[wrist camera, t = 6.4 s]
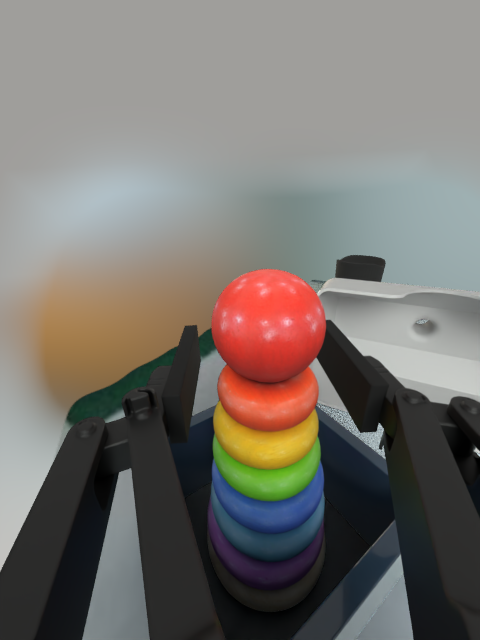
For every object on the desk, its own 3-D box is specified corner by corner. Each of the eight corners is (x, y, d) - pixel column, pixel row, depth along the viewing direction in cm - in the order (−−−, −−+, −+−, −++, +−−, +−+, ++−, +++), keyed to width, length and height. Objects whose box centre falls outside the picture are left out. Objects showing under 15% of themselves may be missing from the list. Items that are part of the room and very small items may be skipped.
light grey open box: (523, 378, 33) (574, 284, 27) (612, 494, 20) (741, 358, 15) (323, 338, 43) (333, 265, 38) (297, 396, 30) (306, 298, 25)
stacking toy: (343, 530, 18) (411, 268, 10) (277, 666, 13) (313, 344, 5) (257, 461, 23) (259, 250, 15) (185, 539, 18) (130, 278, 10)
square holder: (149, 507, 20) (130, 444, 17) (275, 431, 26) (278, 376, 23) (236, 804, 10) (228, 776, 7) (407, 568, 16) (441, 501, 13)
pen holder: (385, 310, 54) (396, 263, 49) (342, 312, 53) (349, 265, 49) (362, 295, 62) (370, 254, 58) (325, 297, 62) (330, 256, 57)
